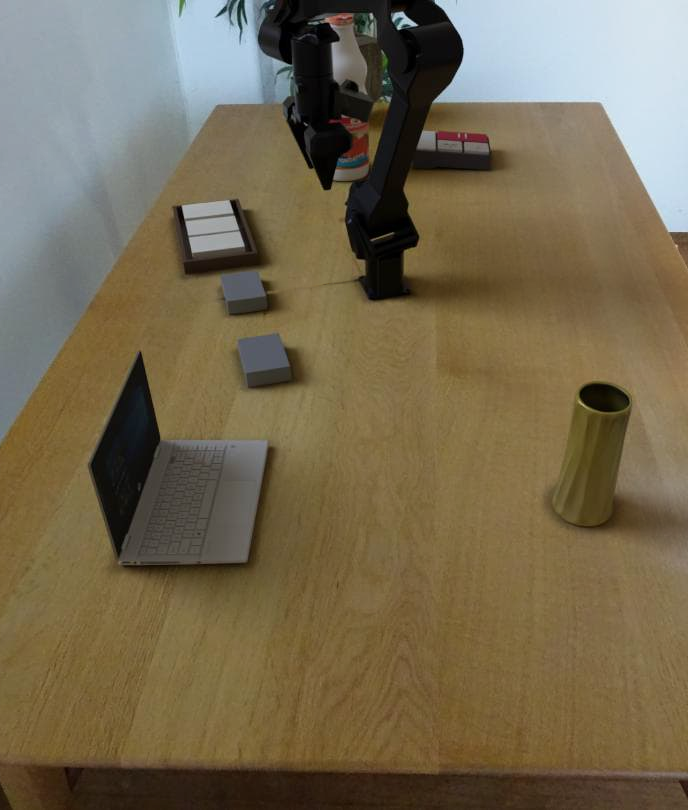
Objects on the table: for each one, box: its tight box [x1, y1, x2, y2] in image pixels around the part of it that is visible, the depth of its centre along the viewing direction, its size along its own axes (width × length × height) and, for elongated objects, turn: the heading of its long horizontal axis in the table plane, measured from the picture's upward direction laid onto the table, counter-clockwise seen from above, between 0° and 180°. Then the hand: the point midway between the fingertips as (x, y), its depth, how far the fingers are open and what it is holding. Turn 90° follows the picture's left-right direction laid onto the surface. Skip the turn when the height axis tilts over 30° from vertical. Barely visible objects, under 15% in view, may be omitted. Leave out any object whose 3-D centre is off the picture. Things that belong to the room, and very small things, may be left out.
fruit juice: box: [325, 13, 370, 182], centre depth 147 cm, size 9×9×28 cm
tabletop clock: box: [351, 13, 384, 103], centre depth 172 cm, size 14×9×25 cm, turn 130°
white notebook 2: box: [186, 216, 239, 248], centre depth 131 cm, size 8×6×2 cm
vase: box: [552, 380, 633, 527], centre depth 79 cm, size 6×6×14 cm
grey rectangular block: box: [219, 269, 268, 316], centre depth 117 cm, size 8×6×2 cm
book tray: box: [172, 198, 260, 275], centre depth 131 cm, size 21×11×2 cm, turn 17°
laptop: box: [87, 349, 270, 566], centre depth 80 cm, size 18×12×13 cm
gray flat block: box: [236, 332, 292, 388], centre depth 103 cm, size 8×6×2 cm
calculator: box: [412, 130, 492, 171], centre depth 160 cm, size 11×4×15 cm
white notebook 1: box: [181, 199, 234, 229], centre depth 136 cm, size 8×6×2 cm
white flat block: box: [189, 231, 246, 259], centre depth 126 cm, size 8×6×2 cm
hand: (319, 178), depth 124 cm, fingers open, 9 cm apart
